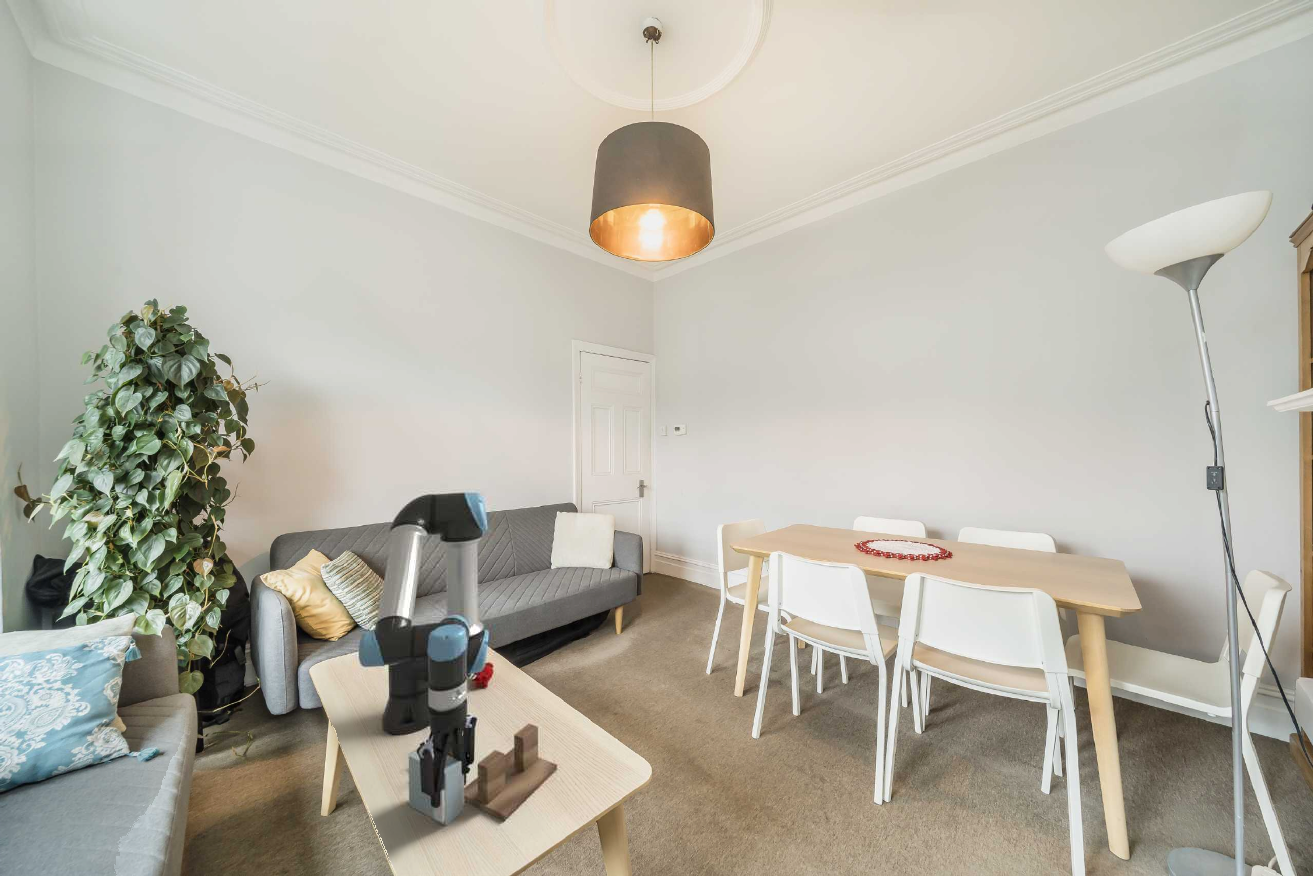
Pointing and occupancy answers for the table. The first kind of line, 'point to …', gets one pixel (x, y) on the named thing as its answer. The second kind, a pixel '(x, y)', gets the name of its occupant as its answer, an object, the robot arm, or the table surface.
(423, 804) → the grey-blue slab
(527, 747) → the walnut stand
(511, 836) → the table surface
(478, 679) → the figurine
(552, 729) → the table surface
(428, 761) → the robot arm
